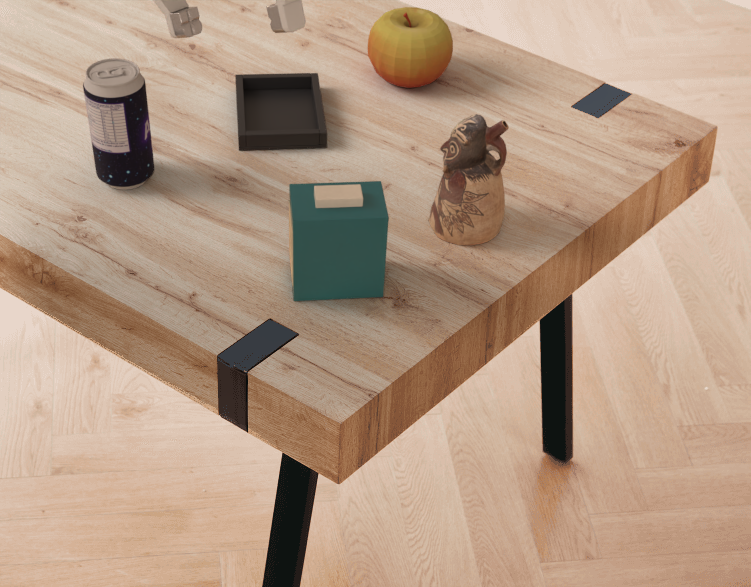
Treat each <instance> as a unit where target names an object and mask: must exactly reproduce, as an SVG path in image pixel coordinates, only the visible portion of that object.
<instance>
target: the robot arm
mask: <svg viewBox="0 0 751 587" xmlns="http://www.w3.org/2000/svg"><path fill="white" fill-rule="evenodd" d="M152 1H153V2H154V4H155V6H157V8H158V10H160V12H161V13H162V14H163V15H164V16H165V21H166V25H167V28H168V31H169V35H170V37H171V38H173V39H186V38H187V39H188V38H192V37H194V36H197V35H199V34H201V33H202V31H203V23H202V21H201V20H200V12H199V8H198V6H189V3H188V2H187V1H186V0H152ZM302 2H303V1H302V0H275V2H274V3H271V4H270V5H267V6H266V12H267V16H268V19H269V20H270V24H269V25H270V28H271V31H272V33H273V32H274V33H275V34H281V33H282V34H283V33H284V34H286V33H287V34H288V33H294V32H297V31H299V30H301V29H304V28H305V26H306V23H307V20H306V15H305V10H304V6H303V3H302Z"/></svg>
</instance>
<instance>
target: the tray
mask: <svg viewBox="0 0 751 587" xmlns="http://www.w3.org/2000/svg"><path fill="white" fill-rule="evenodd" d="M235 96H236V97H235V98H236V99H235V100H236V120H237V142H238V151H268V150H269V151H271V150H272V151H273V150H303V149H307V150H308V149H327V148H328V130H327V123H326V117H325V116H326V115H325V111H324V105H323V104H324V103H323V98H322V91H321V85H320V77H319V73H318V72H298V73H297V72H295V73H294V72H293V73H292V72H291V73H289V72H288V73H250V74H249V73H248V74H247V73H246V74H235Z"/></svg>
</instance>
